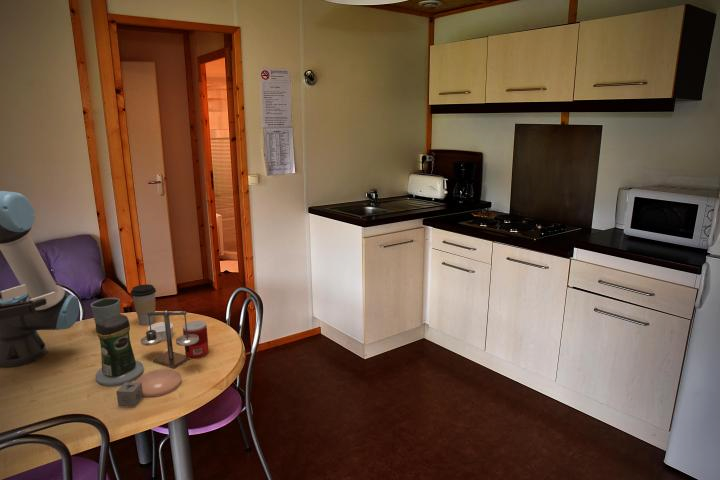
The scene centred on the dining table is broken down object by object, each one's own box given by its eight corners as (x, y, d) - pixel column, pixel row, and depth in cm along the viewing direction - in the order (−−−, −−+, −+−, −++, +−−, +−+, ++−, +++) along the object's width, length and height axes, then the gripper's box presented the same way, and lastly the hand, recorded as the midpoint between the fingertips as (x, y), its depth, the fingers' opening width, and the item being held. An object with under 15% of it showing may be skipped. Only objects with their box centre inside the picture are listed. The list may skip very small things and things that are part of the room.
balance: (138, 357, 171) (131, 304, 166) (154, 349, 177) (148, 297, 172) (190, 373, 160) (184, 317, 155) (205, 364, 166) (200, 309, 161)
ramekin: (155, 331, 191) (154, 321, 190) (177, 332, 191) (176, 321, 190) (144, 342, 183) (143, 331, 181) (168, 342, 182) (167, 331, 181)
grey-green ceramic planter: (99, 338, 185) (94, 309, 182) (91, 330, 193) (87, 301, 189) (127, 330, 192) (123, 302, 189) (118, 322, 199) (115, 295, 196)
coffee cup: (150, 328, 194) (146, 292, 190) (129, 326, 196) (124, 291, 192) (164, 318, 203) (160, 284, 199) (143, 316, 205) (139, 282, 201)
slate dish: (86, 379, 157) (85, 375, 156) (124, 360, 169) (123, 356, 169) (116, 390, 151) (115, 386, 150) (153, 369, 163) (152, 365, 162)
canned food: (213, 350, 176) (210, 322, 173) (197, 360, 169) (194, 331, 166) (197, 346, 179) (194, 318, 176) (180, 356, 172) (177, 327, 169)
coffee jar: (126, 361, 166) (119, 310, 161) (140, 367, 161) (133, 315, 157) (98, 373, 158) (89, 320, 153) (112, 380, 153) (103, 326, 149)
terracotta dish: (123, 390, 151) (122, 386, 150) (159, 369, 163) (159, 365, 162) (155, 401, 145) (155, 397, 144) (191, 379, 157) (190, 375, 156)
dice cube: (143, 397, 147) (141, 382, 146) (135, 407, 142) (133, 391, 141) (127, 396, 148) (125, 382, 146) (118, 406, 143) (116, 391, 141)
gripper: (-71, 325, 125) (16, 297, 144) (-16, 345, 115) (70, 312, 133) (-78, 298, 124) (11, 273, 142) (-23, 315, 113) (66, 286, 131)
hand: (40, 292), depth 138 cm, fingers open, 13 cm apart
